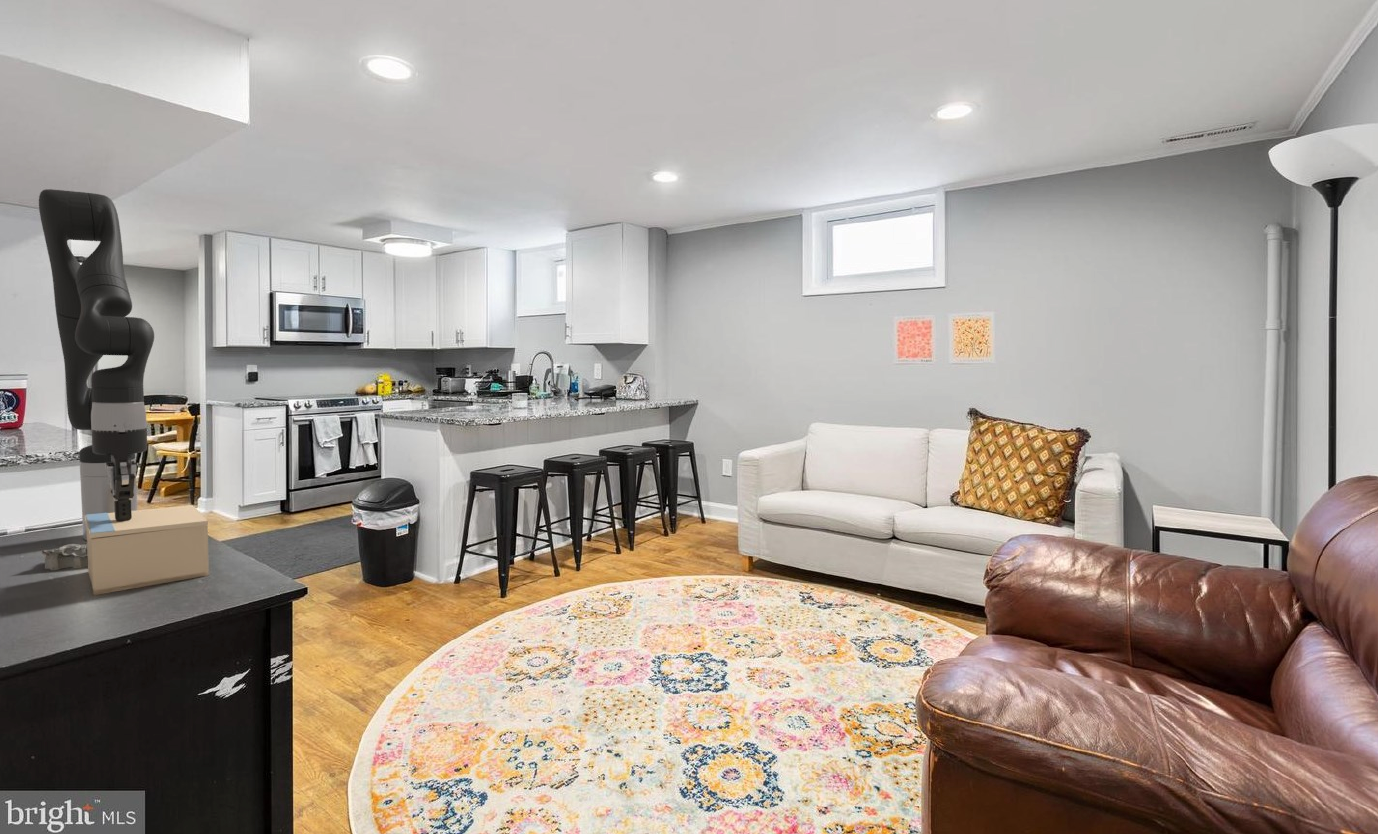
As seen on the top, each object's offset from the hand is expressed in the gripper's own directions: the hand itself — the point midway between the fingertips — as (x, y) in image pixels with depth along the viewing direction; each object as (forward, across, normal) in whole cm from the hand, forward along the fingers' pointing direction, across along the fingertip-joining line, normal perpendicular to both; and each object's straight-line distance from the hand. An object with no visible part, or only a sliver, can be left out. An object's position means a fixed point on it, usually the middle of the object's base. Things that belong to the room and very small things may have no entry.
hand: (123, 520), depth 118 cm
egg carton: (+11, -16, -5) cm, 20 cm away
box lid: (+1, 0, +3) cm, 3 cm away
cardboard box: (+11, 0, +3) cm, 11 cm away
